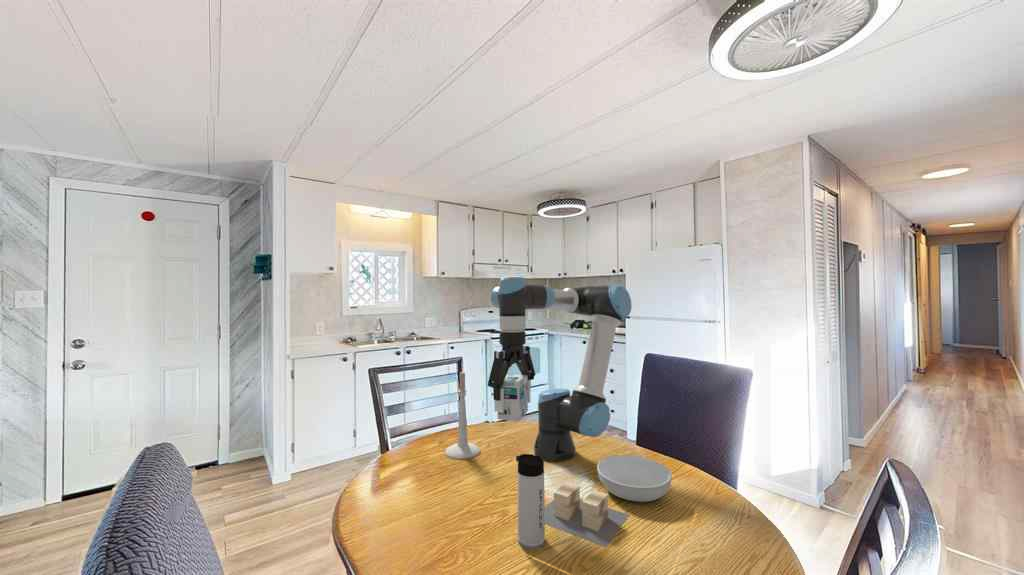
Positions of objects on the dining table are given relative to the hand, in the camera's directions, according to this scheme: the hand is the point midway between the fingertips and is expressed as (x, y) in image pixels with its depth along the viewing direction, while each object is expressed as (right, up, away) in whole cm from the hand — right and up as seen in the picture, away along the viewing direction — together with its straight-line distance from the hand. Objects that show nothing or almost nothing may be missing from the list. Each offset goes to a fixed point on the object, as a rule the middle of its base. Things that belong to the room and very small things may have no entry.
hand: (513, 406), depth 111 cm
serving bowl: (+35, -26, +3) cm, 44 cm away
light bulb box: (0, -3, 0) cm, 3 cm away
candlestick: (-19, -28, +34) cm, 47 cm away
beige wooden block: (+14, -26, -8) cm, 30 cm away
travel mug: (+4, -26, -20) cm, 33 cm away
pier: (+21, -25, -13) cm, 35 cm away
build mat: (+18, -26, -10) cm, 33 cm away
